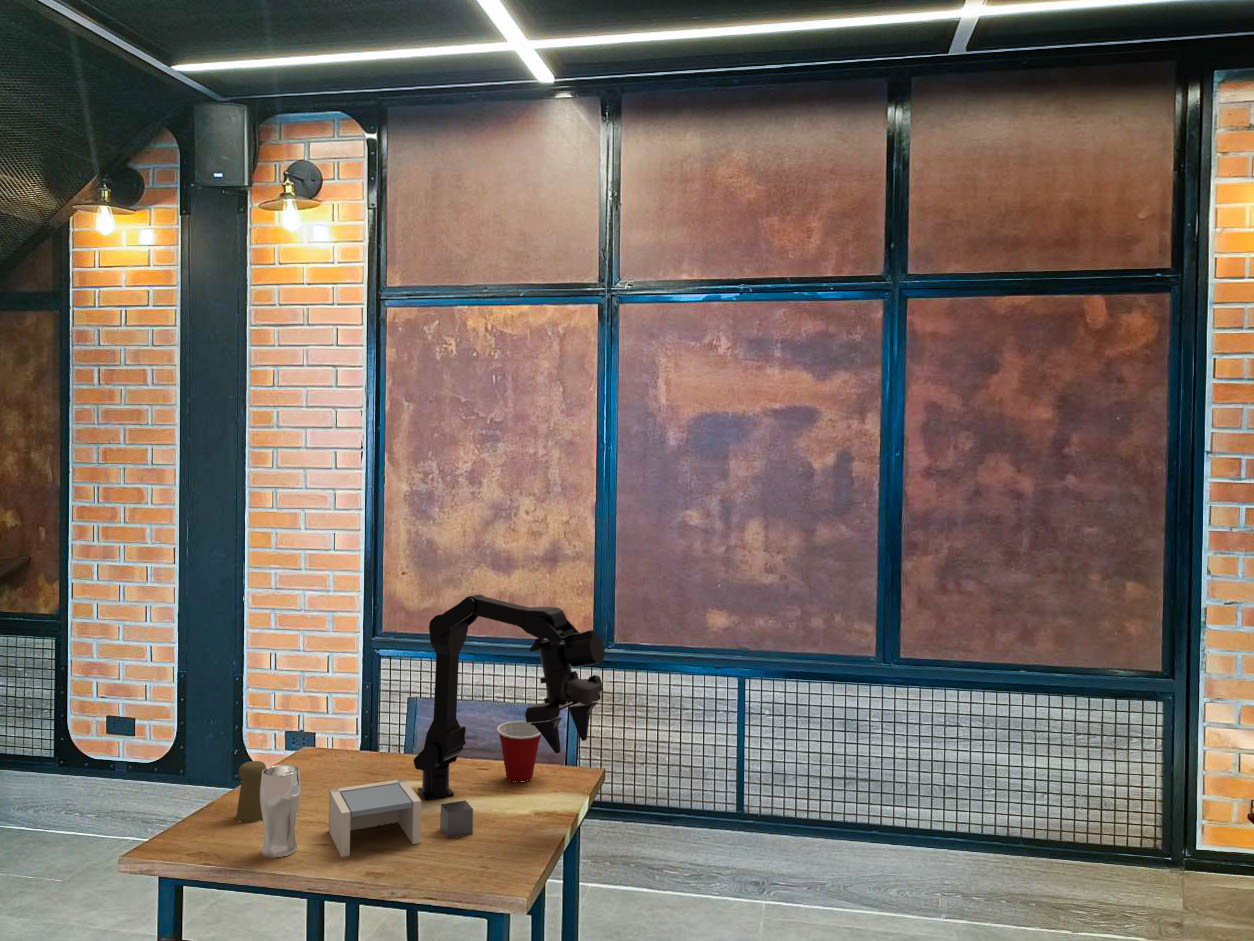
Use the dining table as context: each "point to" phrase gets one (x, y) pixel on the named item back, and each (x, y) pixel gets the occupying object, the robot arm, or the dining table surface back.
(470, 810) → the block
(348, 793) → the trapdoor
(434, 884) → the dining table surface
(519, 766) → the plastic cup
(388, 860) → the dining table surface
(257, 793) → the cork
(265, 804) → the beer glass
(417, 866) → the dining table surface
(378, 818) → the white step stool
